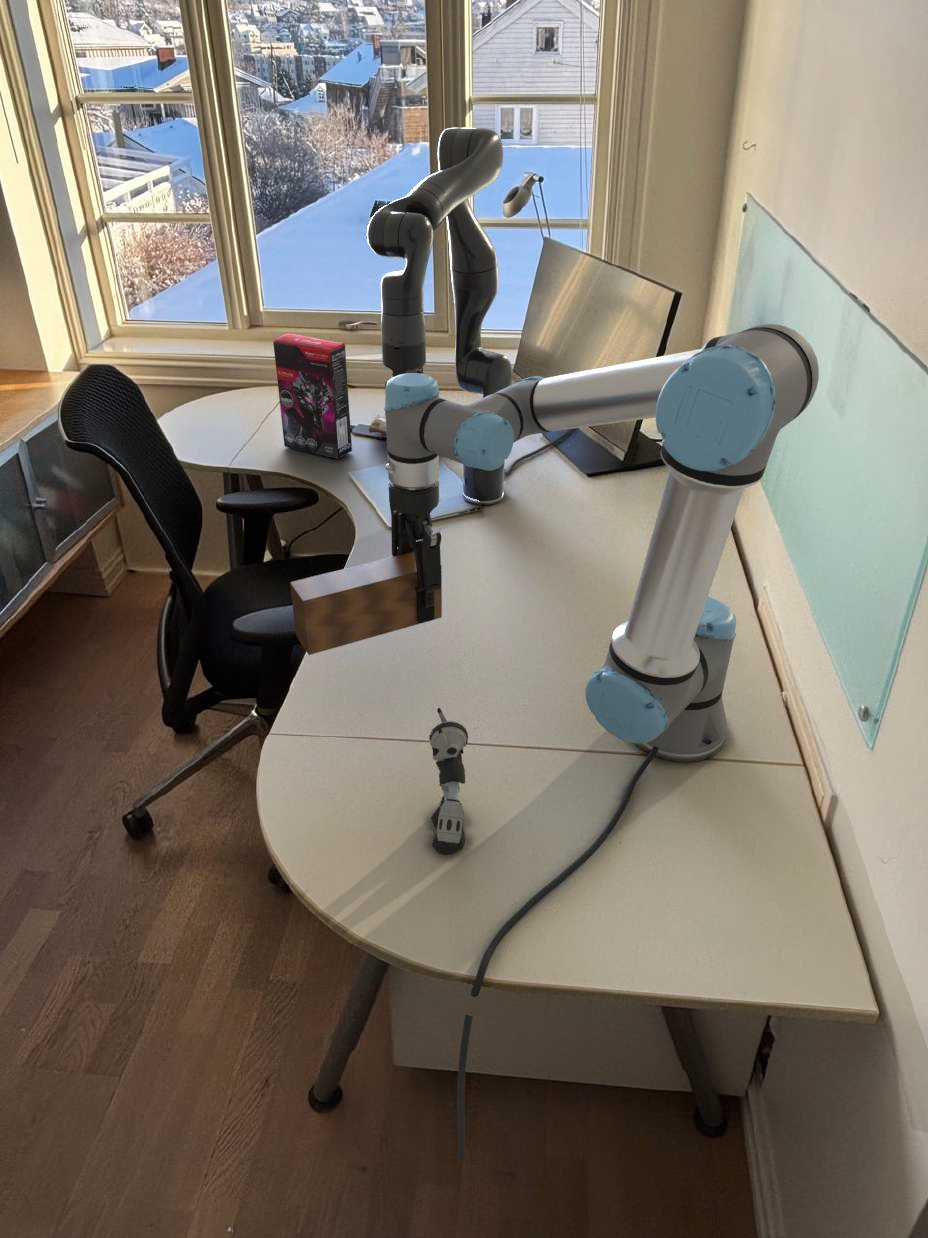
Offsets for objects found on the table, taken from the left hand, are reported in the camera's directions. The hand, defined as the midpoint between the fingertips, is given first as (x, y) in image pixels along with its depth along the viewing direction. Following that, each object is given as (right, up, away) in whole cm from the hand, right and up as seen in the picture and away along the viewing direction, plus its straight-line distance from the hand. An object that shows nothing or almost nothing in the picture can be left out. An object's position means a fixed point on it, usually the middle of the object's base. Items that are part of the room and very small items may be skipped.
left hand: (406, 426), depth 167 cm
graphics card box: (-26, +8, +64) cm, 70 cm away
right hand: (+3, -33, -17) cm, 38 cm away
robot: (+8, -64, -41) cm, 77 cm away
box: (-4, -36, -20) cm, 41 cm away
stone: (-4, +10, +68) cm, 69 cm away
